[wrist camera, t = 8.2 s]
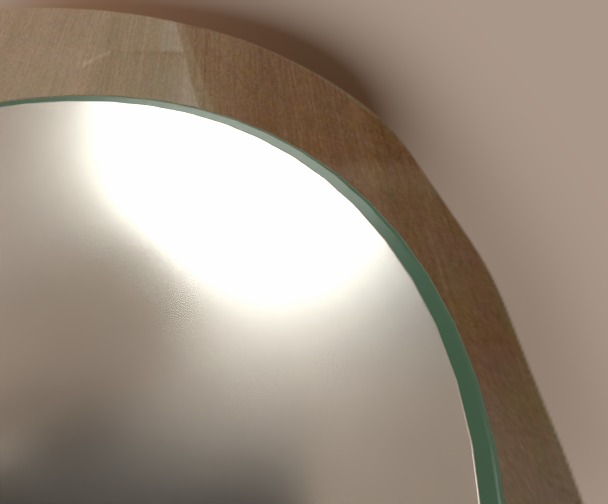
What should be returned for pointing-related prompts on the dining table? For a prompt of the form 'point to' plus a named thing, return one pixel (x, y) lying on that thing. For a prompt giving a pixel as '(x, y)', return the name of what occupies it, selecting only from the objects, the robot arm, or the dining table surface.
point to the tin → (216, 323)
